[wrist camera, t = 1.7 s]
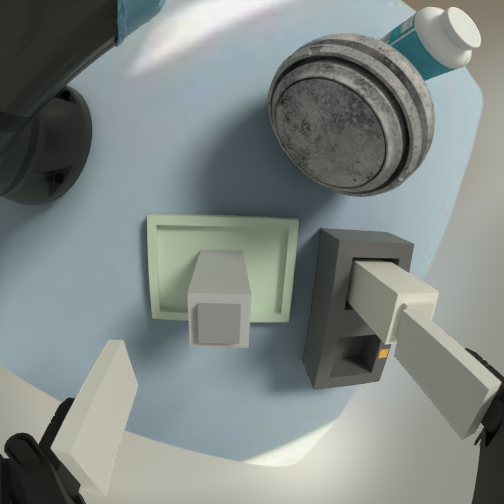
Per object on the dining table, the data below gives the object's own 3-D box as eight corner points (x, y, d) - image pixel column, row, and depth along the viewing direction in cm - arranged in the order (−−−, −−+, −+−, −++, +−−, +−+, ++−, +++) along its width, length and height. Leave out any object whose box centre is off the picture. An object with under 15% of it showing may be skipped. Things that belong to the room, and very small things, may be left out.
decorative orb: (234, 108, 29) (242, 56, 14) (331, 45, 27) (391, -15, 13) (318, 213, 33) (384, 245, 18) (403, 143, 31) (492, 138, 17)
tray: (154, 313, 34) (152, 318, 33) (150, 213, 31) (146, 215, 30) (286, 316, 36) (288, 322, 34) (295, 218, 33) (299, 220, 31)
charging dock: (302, 361, 38) (334, 441, 24) (320, 228, 33) (382, 268, 19) (362, 356, 39) (408, 424, 25) (387, 232, 34) (466, 268, 20)
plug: (200, 288, 33) (188, 350, 21) (200, 249, 32) (186, 296, 20) (240, 289, 34) (249, 352, 21) (242, 250, 32) (252, 297, 20)
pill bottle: (426, 89, 29) (496, 69, 16) (380, 82, 29) (449, 50, 16) (415, 41, 27) (477, 9, 14) (370, 31, 27) (427, -14, 14)
